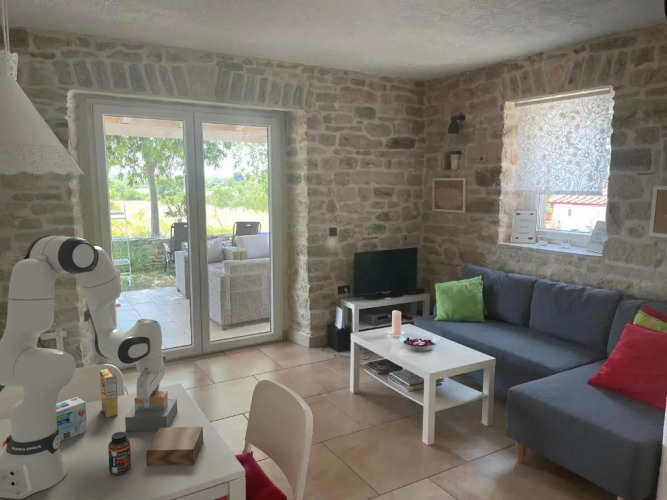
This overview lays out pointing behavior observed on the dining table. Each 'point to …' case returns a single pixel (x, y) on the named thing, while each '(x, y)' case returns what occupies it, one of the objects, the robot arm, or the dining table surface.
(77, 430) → the light bulb box
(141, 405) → the housing base
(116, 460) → the supplement bottle
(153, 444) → the stand
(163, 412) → the stand
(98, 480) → the dining table surface
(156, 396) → the cover
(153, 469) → the dining table surface
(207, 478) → the dining table surface
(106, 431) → the dining table surface
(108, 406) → the candy box
